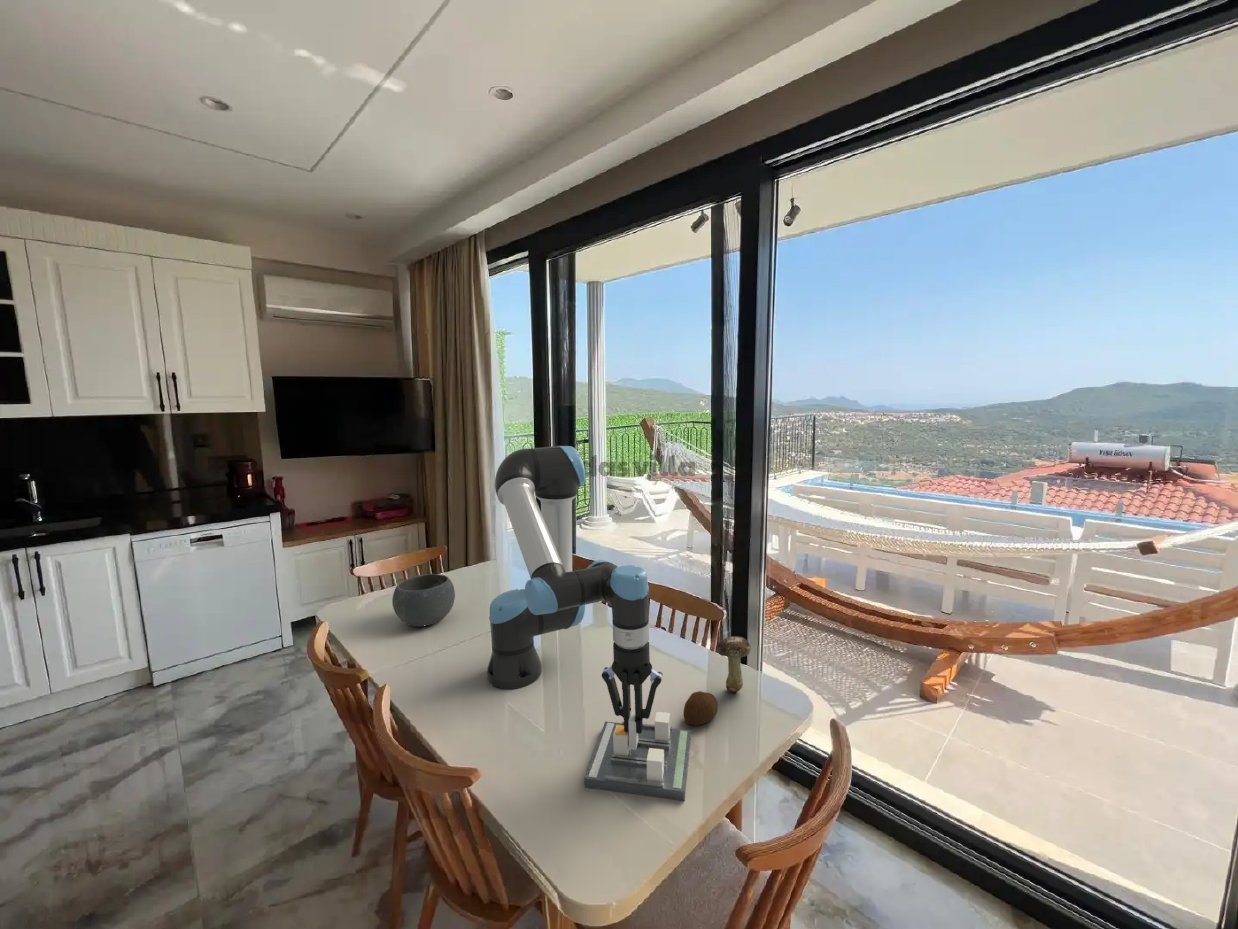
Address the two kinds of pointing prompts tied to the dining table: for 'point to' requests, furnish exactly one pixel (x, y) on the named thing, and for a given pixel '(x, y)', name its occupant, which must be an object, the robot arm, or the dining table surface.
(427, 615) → the bowl
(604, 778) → the panel
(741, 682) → the mushroom
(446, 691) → the dining table surface
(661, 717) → the block
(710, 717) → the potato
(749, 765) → the dining table surface
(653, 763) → the breaker
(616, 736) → the block
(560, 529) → the robot arm
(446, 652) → the dining table surface
